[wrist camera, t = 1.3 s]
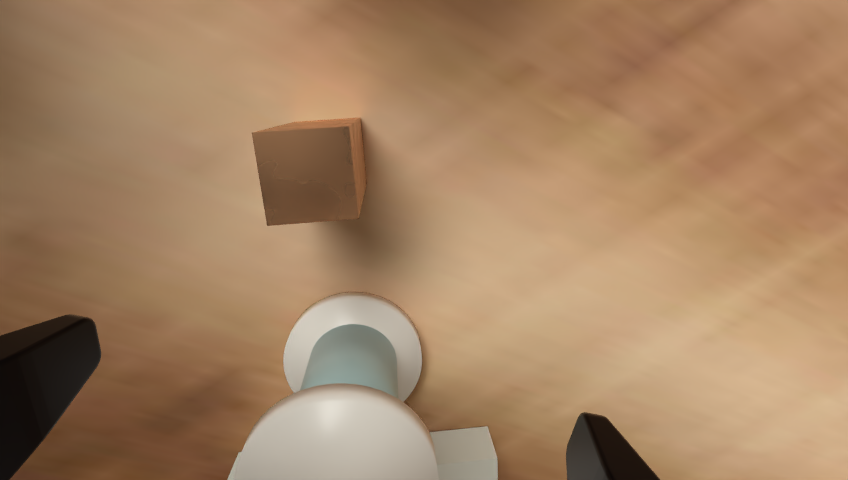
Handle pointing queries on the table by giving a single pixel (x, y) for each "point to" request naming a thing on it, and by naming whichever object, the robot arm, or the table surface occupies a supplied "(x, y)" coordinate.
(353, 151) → the copper tab
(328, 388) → the bobbin
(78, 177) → the table surface
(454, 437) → the notched board
